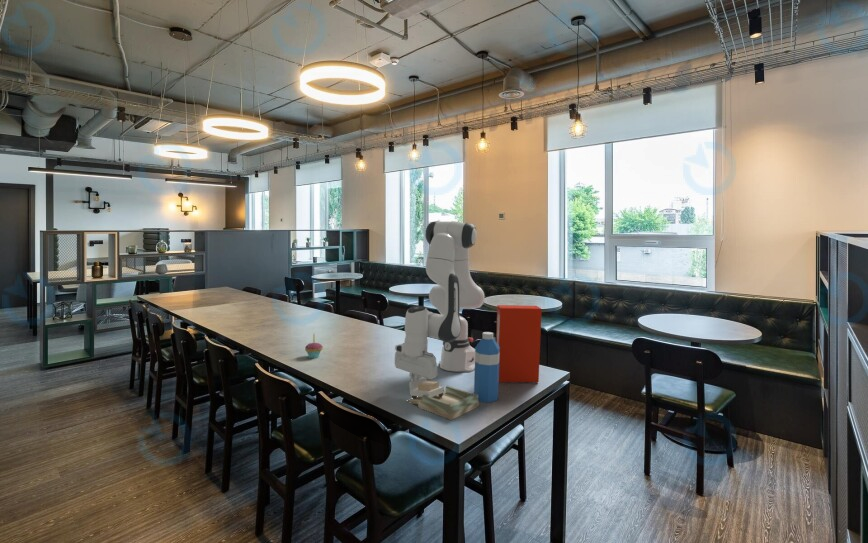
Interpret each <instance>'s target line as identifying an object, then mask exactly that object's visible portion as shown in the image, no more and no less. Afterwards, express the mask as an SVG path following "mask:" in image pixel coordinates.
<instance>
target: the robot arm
mask: <svg viewBox="0 0 868 543" xmlns="http://www.w3.org/2000/svg"><path fill="white" fill-rule="evenodd" d="M477 238H478V234H477V228H476V226H475V225H474V224H473V223H470V222H461V221H456V220H455V221H452V220H451V221H438V220H437V221H436V220H434V221H430V223H428V225H427V226H426V228H425V240H426V242H427V243H428V244H429V247H428V249H427V250H428V252H427V256H426V263H425V272H426V275H427V276H428V278H429V279H430V280H431V281H433V282H434V283H435V284H437V285H433V287H431V289H430V291H429V294H428V300H429V302H430V304H431V305H432V307H434V308H435V309H436V310H437V311H438V312H439V313H436V312H432V311H429V310H428V308H427V307H426V306H423V305H413V306H411V307H409V308H408V309H407V311H406V313H405V317H404V318H405V319H404V332H405V337H404V340H403V341H404V343H400V344H396V345H395V346H394V350H395V353H394V365H395V368H396V369H399V370H402V371H405V372H408V373H409V377H410V381H413V380H416V379H419V378H422V377H425V378H426V379H428V380H433V379H435V378H436V377H437V376H438V364H439V368H440V369H442V370H444V371H448V372H457V373H459V372H467V373H470V372H473V371H475V348H474V347H472V346H471V345H470V343H473V342H474V338H473V337H468V334H469V333H468V332H469V331H468V329H469V328H468V327H469V326H468V325H469V324H468V321H467V320H466V318H464V317H463V316H462V315H460V309H461V310H475V309H478V308H479V309H480V308H481V307H482V306H483V304H484V302H485V300H486V299H485V298H486V297H485V296H486V295H485V292H484V290H483V289H482V288H481V287H480V286H479V285H477V283H475V281H474V280H473V278H472V275H471V271H470V248H472V247H473V246H475V243H476V241H477ZM428 338H432V339H435V340H436V339H437V340H440V341H442V345H443V346H442V348H441V352H440V353H441V355H440V360H439V363H438V364H437V357H436V355H435V354H434V353H432V352H428V342H429V341H428Z"/></svg>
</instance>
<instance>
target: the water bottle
mask: <svg viewBox="0 0 868 543" xmlns="http://www.w3.org/2000/svg"><path fill="white" fill-rule="evenodd" d="M481 337H482V338H481V340H480V341H479V342H478V343H477V344H476V346H475V347H474V349H475V369H474V383H473V384H474V385H473V387H474V388H473V395H474V394H477V395H478V401H479V402H483V403H491V402H497V401H498V399H499V388H500V387H499V357H500V347H499V346H498V344H497V343H496V339H494V332H491V331H484V332H482V336H481Z"/></svg>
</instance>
